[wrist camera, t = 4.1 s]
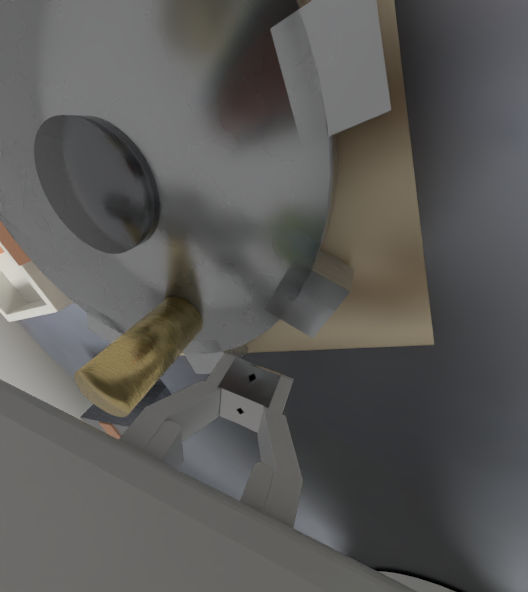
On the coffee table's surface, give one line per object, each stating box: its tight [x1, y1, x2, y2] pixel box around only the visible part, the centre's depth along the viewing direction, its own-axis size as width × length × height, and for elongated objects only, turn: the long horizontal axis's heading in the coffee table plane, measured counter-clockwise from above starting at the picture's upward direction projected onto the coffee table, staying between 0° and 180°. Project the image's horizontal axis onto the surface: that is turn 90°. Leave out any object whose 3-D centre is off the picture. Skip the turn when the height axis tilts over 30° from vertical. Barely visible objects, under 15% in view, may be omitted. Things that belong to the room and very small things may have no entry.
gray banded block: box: [80, 385, 171, 439], centre depth 25 cm, size 4×7×4 cm, turn 108°
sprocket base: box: [179, 0, 434, 356], centre depth 13 cm, size 22×22×1 cm
